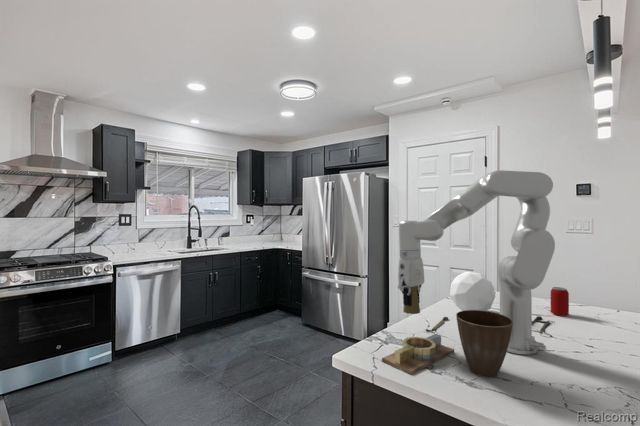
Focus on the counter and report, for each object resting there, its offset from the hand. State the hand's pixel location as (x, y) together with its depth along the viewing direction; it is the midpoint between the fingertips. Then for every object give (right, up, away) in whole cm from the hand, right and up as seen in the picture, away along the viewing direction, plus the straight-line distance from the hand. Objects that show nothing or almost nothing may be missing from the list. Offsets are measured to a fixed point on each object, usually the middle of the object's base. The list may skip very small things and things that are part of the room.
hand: (411, 303), depth 120 cm
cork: (0, -3, 0) cm, 3 cm away
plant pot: (+15, -14, -24) cm, 31 cm away
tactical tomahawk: (+17, -14, +16) cm, 27 cm away
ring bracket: (-1, -14, -13) cm, 19 cm away
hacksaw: (+58, -14, +14) cm, 61 cm away
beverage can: (+77, -14, +30) cm, 84 cm away
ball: (+38, -14, +34) cm, 53 cm away
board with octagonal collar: (-1, -14, -13) cm, 19 cm away
